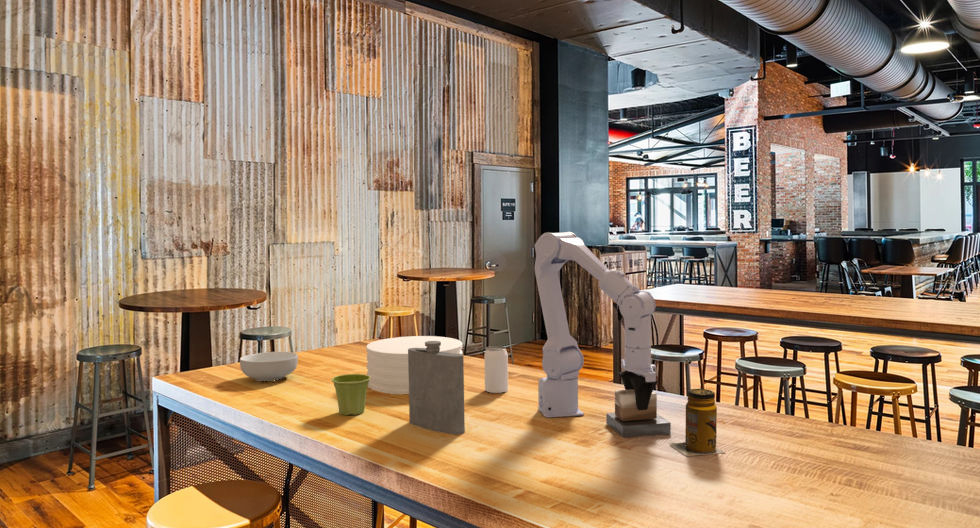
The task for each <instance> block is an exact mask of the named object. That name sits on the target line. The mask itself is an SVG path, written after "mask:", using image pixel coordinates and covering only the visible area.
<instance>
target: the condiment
mask: <svg viewBox="0 0 980 528" xmlns="http://www.w3.org/2000/svg"><path fill="white" fill-rule="evenodd" d="M715 396H716V394H715V392H714V391H713V390H710V389H708V388H707V389H706V388H691V389H689V390H688V391H687V402H686V403H685V441H684V442H671V443H669V445H670V446H671V447H672V448H674V449H675V450H676V451H678V452H679V453H681V454H682V455H684V456H686V457H695V456H706V455H709V456H710V455H718V454H725V453H726V452H725V451H724V450H722V449H719V448H718V447H717V434H718V433H717V418H718V417H717V416H718V415H717V413H718V409H717V404H715V403H716V397H715Z"/></svg>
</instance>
